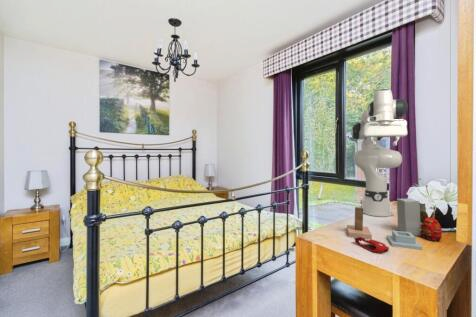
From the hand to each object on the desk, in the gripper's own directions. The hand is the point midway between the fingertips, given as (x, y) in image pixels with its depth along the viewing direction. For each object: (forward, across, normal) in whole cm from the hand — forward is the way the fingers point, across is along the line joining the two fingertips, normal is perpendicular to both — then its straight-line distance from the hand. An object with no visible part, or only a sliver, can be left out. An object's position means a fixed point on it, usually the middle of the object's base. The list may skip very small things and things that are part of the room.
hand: (384, 145), depth 125 cm
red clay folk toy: (+44, -14, +11) cm, 47 cm away
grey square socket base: (+44, 0, +20) cm, 49 cm away
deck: (+43, +16, +13) cm, 48 cm away
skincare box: (+42, -7, +5) cm, 43 cm away
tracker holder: (+46, +14, +28) cm, 56 cm away
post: (+41, +16, +14) cm, 46 cm away
